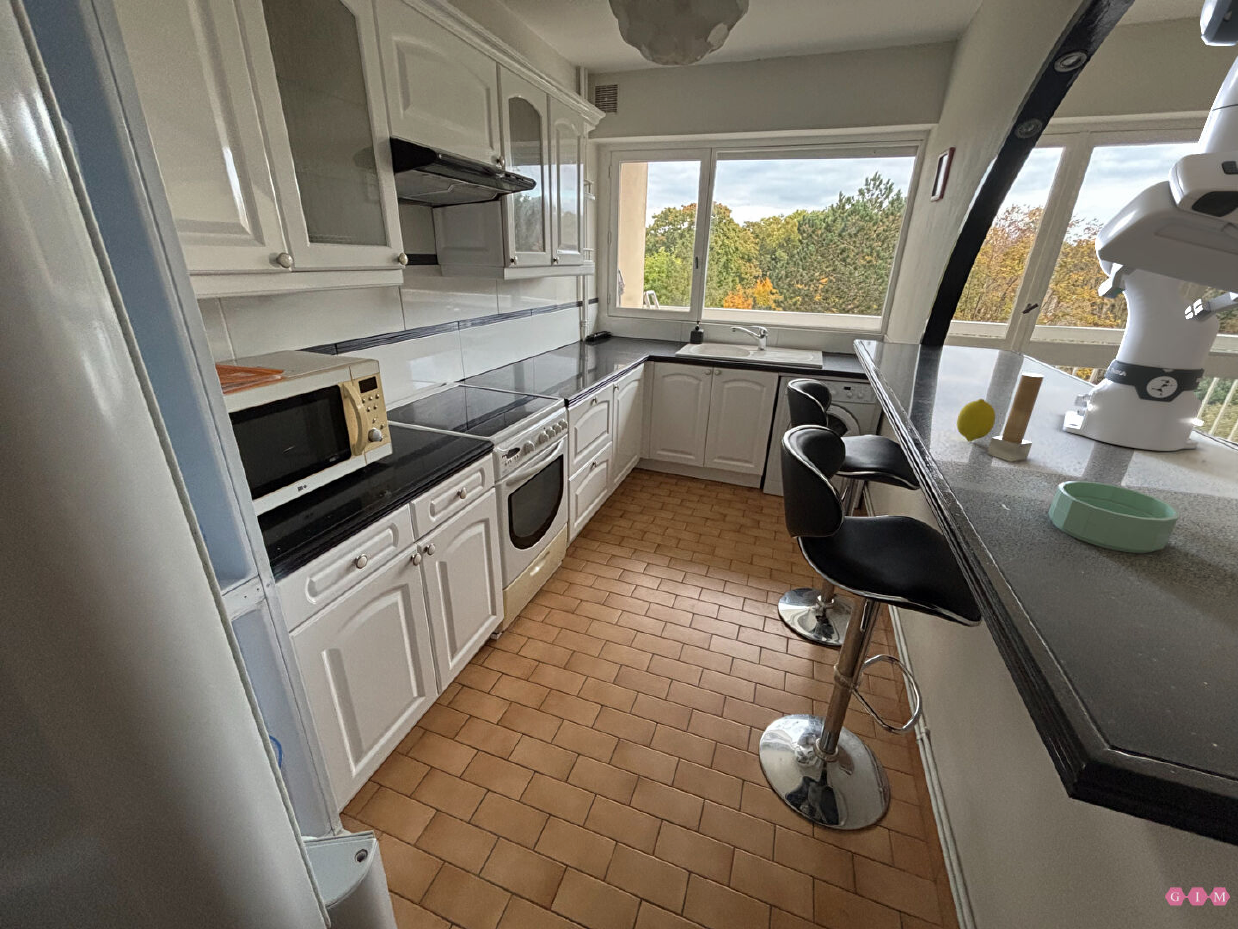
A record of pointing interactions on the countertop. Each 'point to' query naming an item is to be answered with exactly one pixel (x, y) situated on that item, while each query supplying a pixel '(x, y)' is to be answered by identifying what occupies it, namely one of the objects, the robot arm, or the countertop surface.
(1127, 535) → the bowl
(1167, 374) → the robot arm
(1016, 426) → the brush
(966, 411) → the lemon
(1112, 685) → the countertop surface
